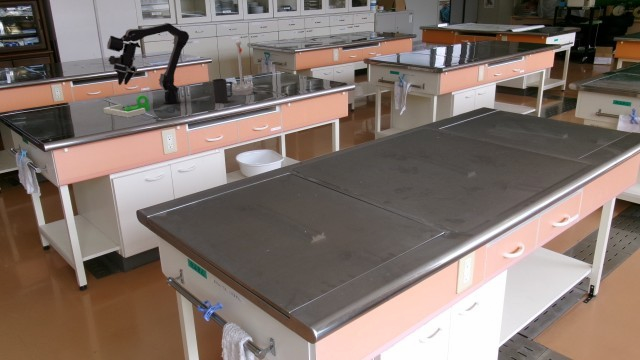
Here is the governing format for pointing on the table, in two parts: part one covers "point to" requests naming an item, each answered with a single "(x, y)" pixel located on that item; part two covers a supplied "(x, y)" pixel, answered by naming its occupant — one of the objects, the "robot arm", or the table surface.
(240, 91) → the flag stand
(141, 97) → the mechanical part
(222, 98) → the mug
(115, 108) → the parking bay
